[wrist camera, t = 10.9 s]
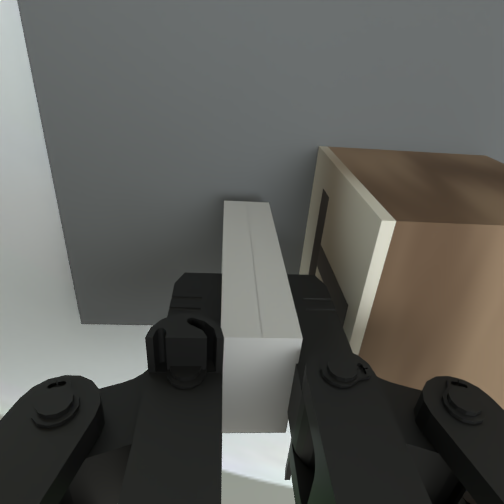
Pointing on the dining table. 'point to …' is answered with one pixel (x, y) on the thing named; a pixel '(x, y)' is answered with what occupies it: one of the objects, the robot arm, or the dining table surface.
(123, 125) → the rubber mat
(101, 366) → the dining table surface
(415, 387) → the walnut block
